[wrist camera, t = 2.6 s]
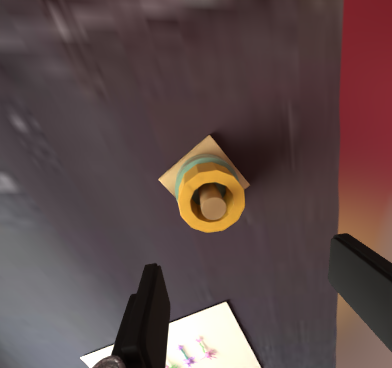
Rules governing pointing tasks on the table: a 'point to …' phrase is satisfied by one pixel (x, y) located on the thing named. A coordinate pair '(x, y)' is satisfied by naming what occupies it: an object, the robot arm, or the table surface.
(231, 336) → the printed paper
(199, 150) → the stacking peg
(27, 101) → the table surface
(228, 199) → the ring
